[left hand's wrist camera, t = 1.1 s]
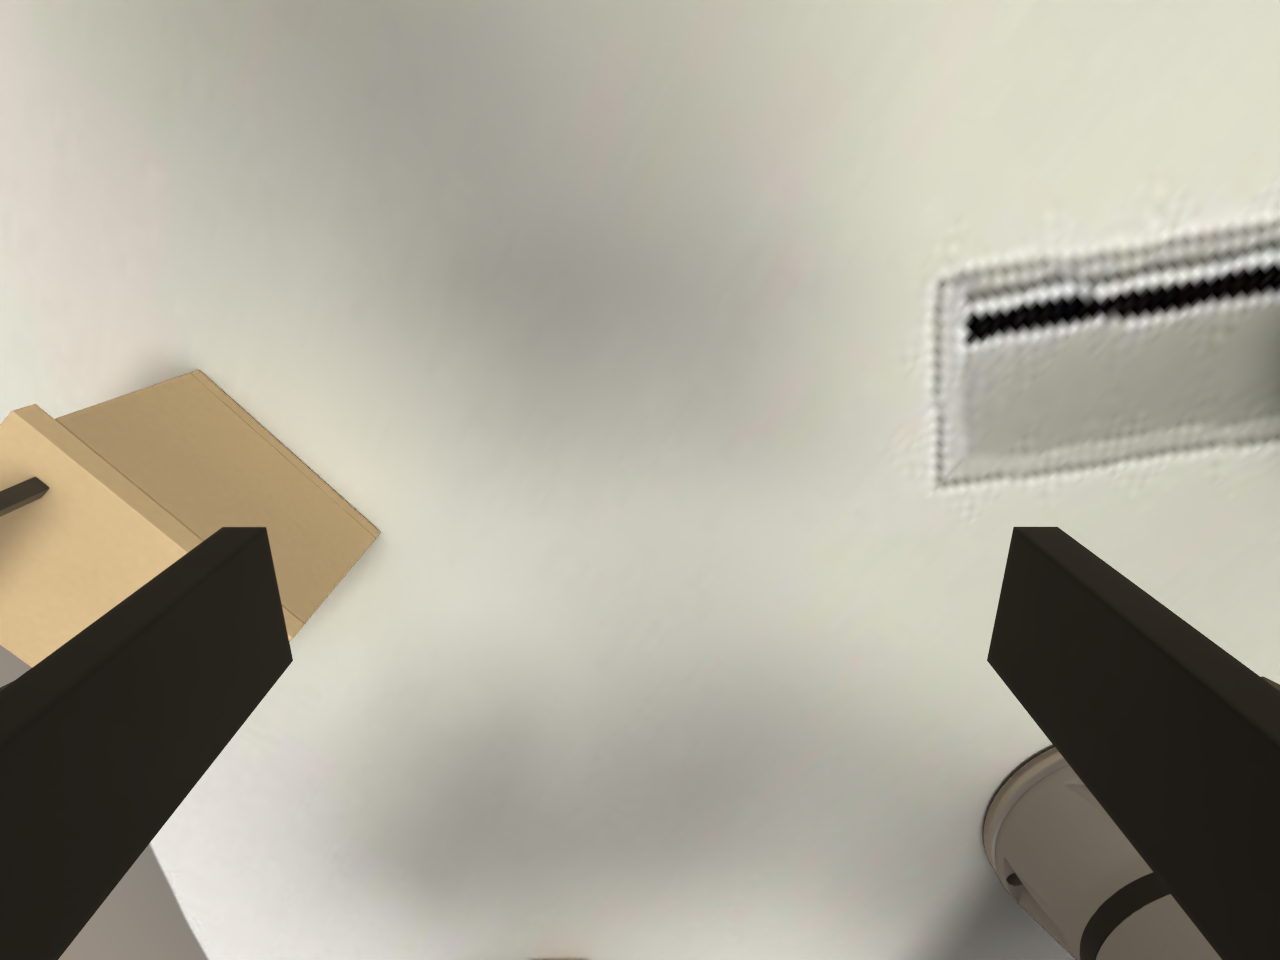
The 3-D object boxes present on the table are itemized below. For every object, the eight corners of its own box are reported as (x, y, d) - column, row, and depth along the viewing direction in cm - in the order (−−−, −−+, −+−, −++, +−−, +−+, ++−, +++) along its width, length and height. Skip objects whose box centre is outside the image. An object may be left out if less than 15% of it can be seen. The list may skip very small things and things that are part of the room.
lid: (-89, 550, 31) (-365, 675, 23) (35, 402, 29) (-219, 480, 20) (175, 741, 35) (23, 912, 26) (305, 623, 33) (184, 769, 24)
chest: (95, 483, 41) (-70, 563, 32) (198, 368, 39) (54, 417, 29) (275, 629, 44) (176, 741, 35) (381, 532, 42) (305, 623, 33)
